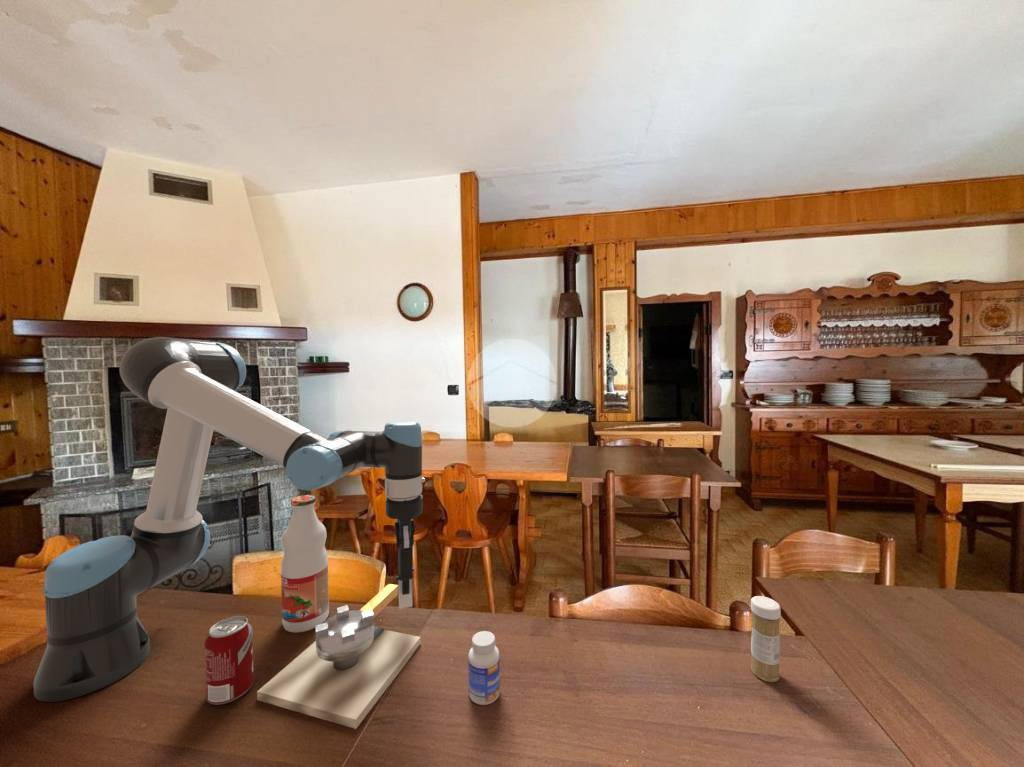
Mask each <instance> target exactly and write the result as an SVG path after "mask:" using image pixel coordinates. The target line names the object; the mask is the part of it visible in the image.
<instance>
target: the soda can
mask: <svg viewBox="0 0 1024 767" xmlns="http://www.w3.org/2000/svg"><path fill="white" fill-rule="evenodd" d="M253 646H254V643H253V626H252V625H251V624H250V623H249V621H248V618H247V616H243V615H234V616H230V617H227V618H225V619H222V620H219V621H218V622H216V623H215V624H214V625H212V626H211V627H210V629H209V631H208V636H207V637H206V639H205V641H204V662H205V663H204V667H205V668H204V670H205V692H206V693H205V695H206V701H207V702H208V703H209V704H210V705H214V706H218V705H225V704H229V703H232V702H234V701H236V700H237V699H239V698H241V697H242V696H244V695H245V694H246V693H247V692H248V691H249V690H250V689H251V688H252V686H253V685H254V681H255V679H254V678H255V677H254V676H255V675H254V673H255V672H254V650H253V649H254V647H253Z"/></svg>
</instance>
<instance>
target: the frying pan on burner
mask: <svg viewBox="0 0 1024 767" xmlns="http://www.w3.org/2000/svg"><path fill="white" fill-rule="evenodd" d="M397 596H399V584H392V583H387V584H386V585H385V587H384V588H383V589H381V590H380V591H379V592H378V593H377V594H376V595H374V597H373V598H371V599H370V600H369V601H368V602H367V603H365V605H364V606H362V607H361V608H360V609H358V610H353V609H352V610H350V609H349V608H350V607H349V606H348V604H346V605H343V606H342V605H341V606H339V607H336V614H333V615H331V616H330V617H327V619H326V620H325V621H324V622H323V623H322V624H319V625H316V626H315V628H314V630H315V632H314V633H315V641H316V653H317V655H318V657H319V658H321V659H323V660H325V661H332V662H335V661H343V660H347V659H350V658H352V657H355V656H357V655H359V654H360V653H362V652H363V651H365V650H366V649H367V648H368V647H369V646H370V645H371V643H372V641H373V639H374V626H375V617H377V616H378V615H379V614H380V613H381V612H382V610H384V609H385V608H386V606H388V605H389V603H391V602H392V600H393V599H394V598H396V597H397Z"/></svg>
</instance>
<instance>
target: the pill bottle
mask: <svg viewBox="0 0 1024 767" xmlns="http://www.w3.org/2000/svg"><path fill="white" fill-rule="evenodd" d="M471 641H472V642H471V647H470V649H469V651H468V657H467V658H468V660H467V661H468V664H467V665H468V695H469V698H470V699H471V701H472V702H473V703H475V704H477V705H481V706H487V705H490V704H492V703H494V702H495V701H497V699H498V698H499V697H500V692H501V680H500V678H501V677H500V676H501V675H500V650H499V648H498V647H497V646H496V637H495V634H494V633H492V632H491V631H488V630H487V631H486V630H481V631H478V632H476V633H475V634H474V635H472V639H471Z"/></svg>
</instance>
